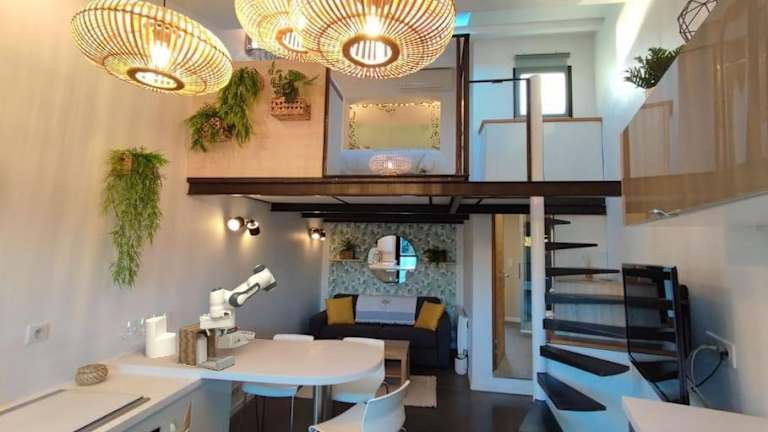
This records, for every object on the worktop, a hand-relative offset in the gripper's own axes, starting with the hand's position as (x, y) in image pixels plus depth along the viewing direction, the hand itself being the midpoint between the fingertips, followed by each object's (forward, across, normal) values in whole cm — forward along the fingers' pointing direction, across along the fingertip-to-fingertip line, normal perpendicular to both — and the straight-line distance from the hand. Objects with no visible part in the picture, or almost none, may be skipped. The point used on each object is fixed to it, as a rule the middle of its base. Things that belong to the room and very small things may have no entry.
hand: (217, 334), depth 243 cm
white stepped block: (+20, -40, +41) cm, 61 cm away
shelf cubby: (+20, -13, +13) cm, 27 cm away
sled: (+20, -5, +5) cm, 21 cm away
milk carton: (+20, -12, +12) cm, 27 cm away
